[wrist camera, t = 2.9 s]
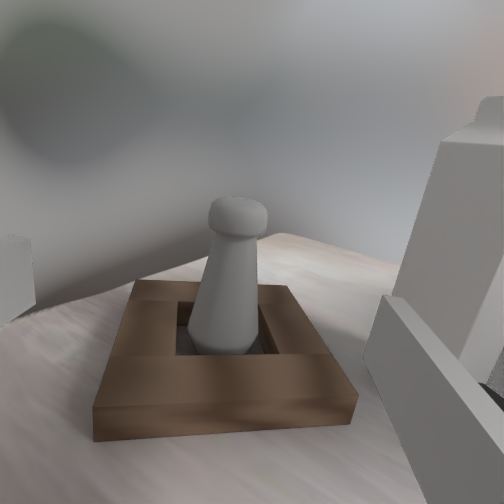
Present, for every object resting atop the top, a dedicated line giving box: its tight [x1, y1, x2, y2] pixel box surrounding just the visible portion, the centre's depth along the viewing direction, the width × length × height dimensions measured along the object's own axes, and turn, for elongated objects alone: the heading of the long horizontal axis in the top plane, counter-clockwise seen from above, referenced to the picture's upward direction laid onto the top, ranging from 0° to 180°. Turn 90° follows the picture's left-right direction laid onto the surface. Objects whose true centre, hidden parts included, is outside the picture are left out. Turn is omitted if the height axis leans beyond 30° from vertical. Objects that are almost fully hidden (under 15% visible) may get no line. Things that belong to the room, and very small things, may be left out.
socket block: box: [93, 279, 359, 442], centre depth 26 cm, size 16×16×2 cm
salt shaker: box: [188, 197, 267, 355], centre depth 25 cm, size 6×6×13 cm
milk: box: [368, 96, 504, 385], centre depth 22 cm, size 6×6×22 cm
